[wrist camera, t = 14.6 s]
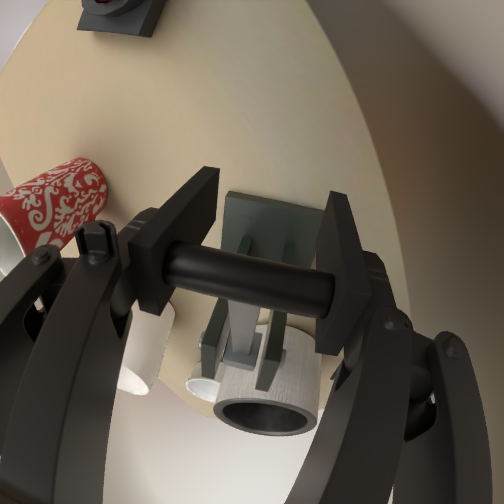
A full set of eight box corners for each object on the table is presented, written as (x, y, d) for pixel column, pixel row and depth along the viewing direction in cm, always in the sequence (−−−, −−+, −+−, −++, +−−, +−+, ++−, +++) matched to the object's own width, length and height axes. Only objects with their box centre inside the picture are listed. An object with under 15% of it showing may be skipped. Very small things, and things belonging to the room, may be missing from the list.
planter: (231, 363, 42) (213, 425, 33) (234, 311, 34) (210, 388, 25) (309, 377, 40) (302, 441, 31) (333, 328, 33) (333, 409, 24)
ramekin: (254, 375, 43) (250, 398, 39) (225, 388, 47) (219, 408, 44) (209, 350, 40) (201, 373, 37) (184, 366, 45) (176, 386, 42)
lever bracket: (228, 190, 25) (164, 292, 14) (325, 210, 25) (333, 330, 14) (220, 286, 32) (179, 390, 21) (296, 303, 32) (283, 414, 21)
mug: (50, 172, 27) (-28, 227, 17) (87, 134, 24) (-12, 187, 13) (100, 250, 33) (38, 322, 22) (144, 228, 30) (73, 314, 19)
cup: (115, 290, 37) (72, 352, 27) (154, 273, 33) (107, 348, 24) (153, 331, 41) (122, 394, 31) (196, 322, 37) (165, 396, 27)
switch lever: (180, 218, 9) (151, 286, 7) (338, 252, 8) (330, 327, 7) (213, 330, 21) (205, 360, 20) (277, 345, 20) (271, 375, 19)
